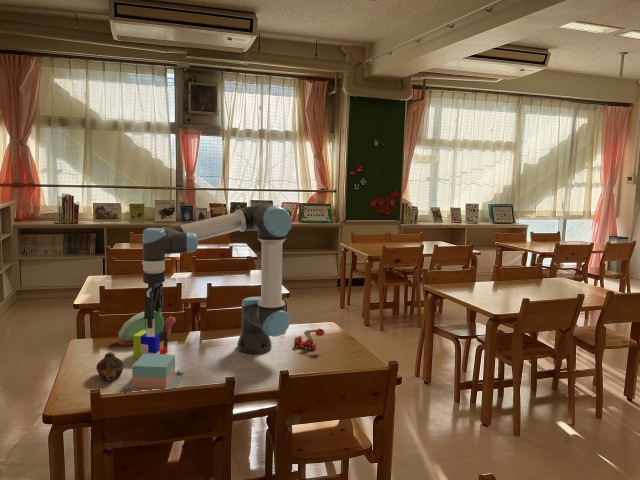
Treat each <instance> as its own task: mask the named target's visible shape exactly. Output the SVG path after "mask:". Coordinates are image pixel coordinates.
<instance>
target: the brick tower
mask: <svg viewBox="0 0 640 480" xmlns="http://www.w3.org/2000/svg"><path fill="white" fill-rule="evenodd" d="M131 368H132V370H131V371H132V378H131V379H130V380H129V381H128V382H127V383H126V384H125V385H124V386H123V388H122V389H121V391H120V392H132V391H141V390H152V389H165V388H176V387H177V388H178V386H179V384H180V383H181V381H182V380H183V378H184V377H185V375H186V371H184V370H182V369H180V370H177V371H176V354H165V355H164V354H143V355H142V356H141V357H140V358H139V359H137V360H135V362H134V364H132V367H131ZM177 388H176V389H177Z"/></svg>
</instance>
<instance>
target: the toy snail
mask: <svg viewBox="0 0 640 480" xmlns="http://www.w3.org/2000/svg"><path fill="white" fill-rule="evenodd" d="M154 312H156V311H154ZM173 315H174V314H173V313H171V314H170V316H169V317H166V319H165V320H164V327H163V330H167V340H168V339H169V338H170V336H171V332H172V327H173V325H174V324H175V323H176V321H177V320H176V318H175V317H174V316H173ZM144 320H145V319H144V311H142V312H139V313H138V314H136V315H133V316H132V317H130V318H129V319H128V320H126V322H125V323H124V324H123V325H122V327H121V328H120V330H119V332H118V333H117V335H118V338H119V339H120V341H119V342H118V345H120V346H127V345H133V335H135V334H136V333H138V332H140V331H142V330H143V329H145V327H144Z"/></svg>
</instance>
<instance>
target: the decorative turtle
mask: <svg viewBox="0 0 640 480" xmlns="http://www.w3.org/2000/svg"><path fill="white" fill-rule="evenodd" d="M124 365H125V364H124V362H123V360H121V358H118V357H116V355H115V353H114V352H112V351H108V352H107V353H105V355H104V357H103V358H102V359H100V360H99V361H98V362H97V365H96V371H97V373H98V375H99V376H100V379H101V380H103V381H105V380H106V379H107V381H113V380H115V378H116V379H118V378H120V377H121V375H122V373H123V371H124V368H125V366H124Z"/></svg>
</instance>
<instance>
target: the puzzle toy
mask: <svg viewBox="0 0 640 480" xmlns="http://www.w3.org/2000/svg"><path fill="white" fill-rule="evenodd" d="M132 345H133V348H132V349H133V359H135V360H136V359H137V360H138V359H139V358H140V357H141V356H142V355H143V354H164V355H167V353H169V352H168V339H167V330H162V331H161V332H160V333H159V334H157V335H155V336H154V337H147V331H146V330H145V329H143V330H142V331H140V332H138V333H136V334H135V335H133V344H132Z"/></svg>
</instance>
